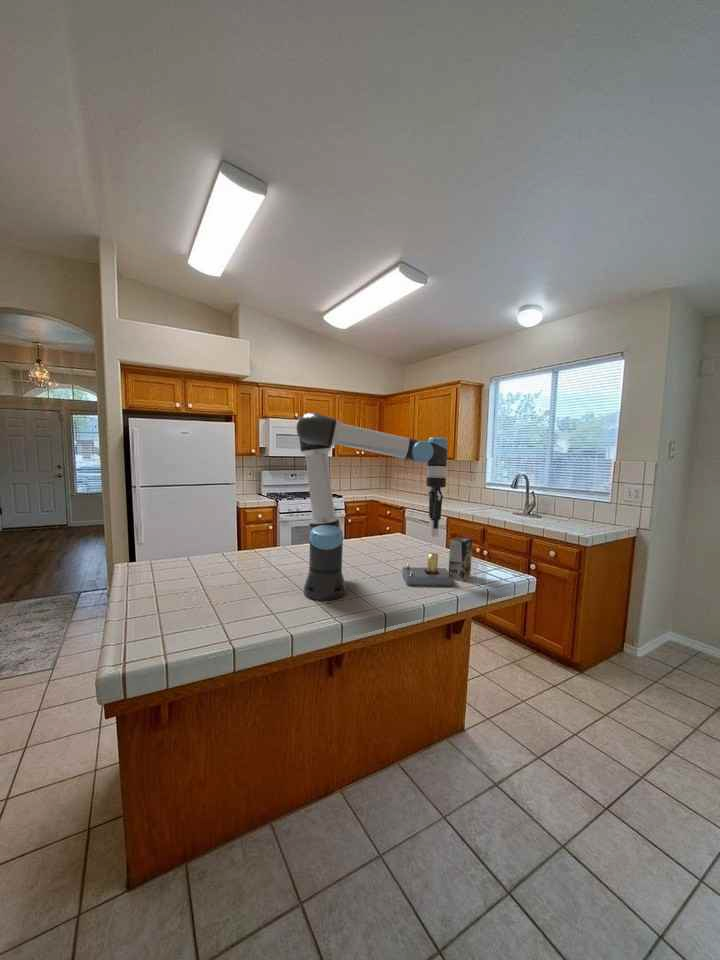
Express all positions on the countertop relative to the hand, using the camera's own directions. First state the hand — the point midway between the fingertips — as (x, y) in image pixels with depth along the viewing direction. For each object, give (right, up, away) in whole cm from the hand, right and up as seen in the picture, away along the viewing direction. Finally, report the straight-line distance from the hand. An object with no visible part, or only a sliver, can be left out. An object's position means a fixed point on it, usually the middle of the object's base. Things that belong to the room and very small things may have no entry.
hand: (433, 535), depth 154 cm
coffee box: (+12, -19, +7) cm, 23 cm away
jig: (-3, -18, +1) cm, 19 cm away
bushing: (-1, -18, +1) cm, 19 cm away
